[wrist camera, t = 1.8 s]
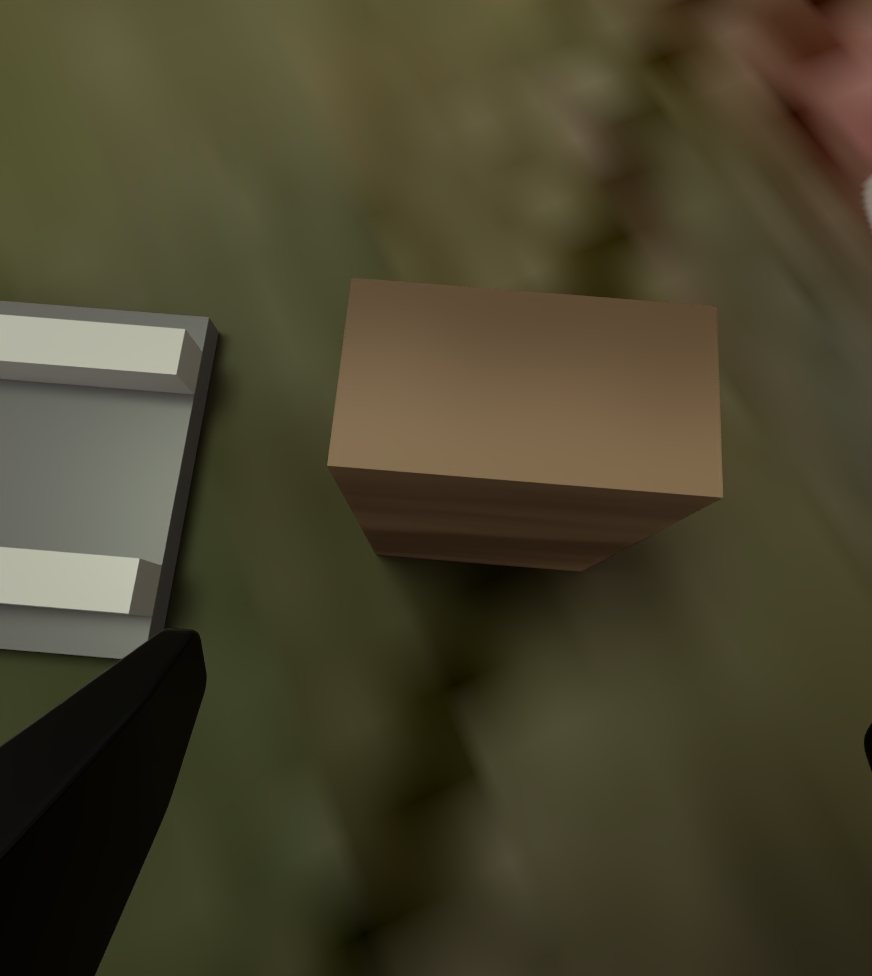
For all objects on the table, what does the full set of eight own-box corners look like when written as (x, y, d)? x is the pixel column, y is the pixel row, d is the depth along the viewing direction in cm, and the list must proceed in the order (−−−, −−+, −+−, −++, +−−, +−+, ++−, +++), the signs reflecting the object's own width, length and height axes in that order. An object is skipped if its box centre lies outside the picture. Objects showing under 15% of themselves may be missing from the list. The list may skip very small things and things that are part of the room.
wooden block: (580, 571, 20) (723, 497, 10) (376, 554, 20) (327, 466, 10) (583, 448, 21) (716, 276, 11) (389, 433, 21) (355, 248, 11)
